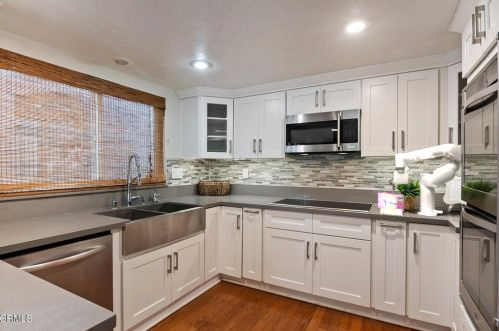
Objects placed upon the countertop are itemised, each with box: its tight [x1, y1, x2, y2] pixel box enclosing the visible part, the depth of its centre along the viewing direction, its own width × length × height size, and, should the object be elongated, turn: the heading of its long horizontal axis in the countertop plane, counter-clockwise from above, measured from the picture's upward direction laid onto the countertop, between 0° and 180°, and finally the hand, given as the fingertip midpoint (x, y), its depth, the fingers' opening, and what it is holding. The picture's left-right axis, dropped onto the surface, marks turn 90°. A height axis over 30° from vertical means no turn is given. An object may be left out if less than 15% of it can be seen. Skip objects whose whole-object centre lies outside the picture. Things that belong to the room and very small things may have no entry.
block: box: [388, 204, 394, 210], centre depth 212 cm, size 4×4×4 cm
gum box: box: [377, 191, 405, 212], centre depth 232 cm, size 24×8×14 cm, turn 13°
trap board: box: [379, 207, 403, 216], centre depth 215 cm, size 15×12×3 cm
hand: (401, 191), depth 209 cm, fingers open, 9 cm apart
